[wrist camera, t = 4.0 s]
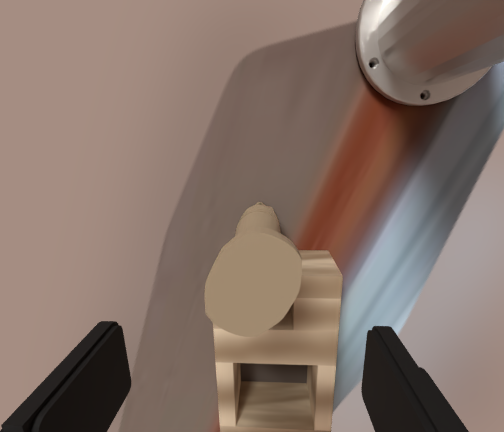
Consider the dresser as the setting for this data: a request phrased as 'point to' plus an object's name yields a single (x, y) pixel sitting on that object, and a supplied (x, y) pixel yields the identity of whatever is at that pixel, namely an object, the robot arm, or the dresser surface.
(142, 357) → the dresser surface
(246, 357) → the socket block
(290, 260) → the handle
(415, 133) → the dresser surface
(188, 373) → the dresser surface
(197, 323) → the dresser surface
